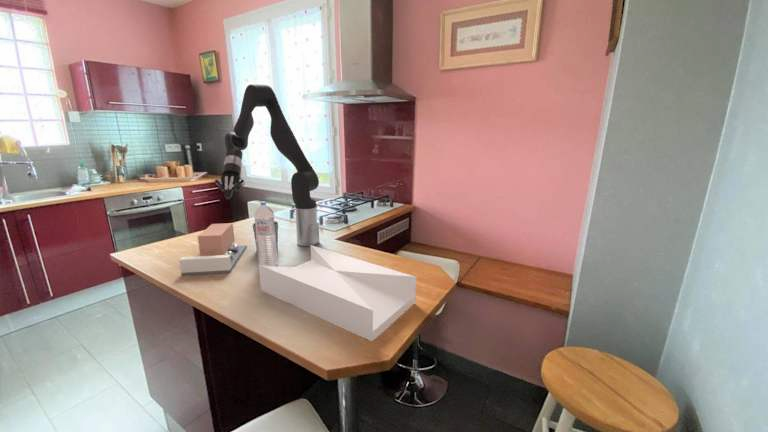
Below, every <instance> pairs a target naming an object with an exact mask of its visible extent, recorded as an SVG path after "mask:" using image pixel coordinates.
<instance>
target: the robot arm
mask: <svg viewBox="0 0 768 432" xmlns="http://www.w3.org/2000/svg"><path fill="white" fill-rule="evenodd" d="M258 107H259V108H260V107H261V108H262V107H265V108H266V109H267V112H268V114H269V117H270V127H269V128H270V129H269V130H270V132H269V133H270V137H271V139H272V141H273V143H274V145H275V147H276V149H277V150H278V151H279V153H280V154H282V155H283V156H284V157H285V158H286V159H287V160H288V161H289V162H290V163H291V164H292V165H293V166H294V167H295V169H296V172H294V173H293V175H292V177H291V180H290V186H291V194H292V201H293V203H294V208H295V209H294V211H295V226H296V227H295V229H296V243H297V245H298V246H300V247H311V246H310V245H312V246H316V245H317V244H318V242H319V243H320V223H319V222H318V221H317V219H318V218H317V216H318V215H317V201H316V200H315V199H313V198H312V197H311V191H315V190H316V189H317V188H318V187H319V184H320V183H319V182H320V181H319V176H318V175H317V172H316V171H315V170H314V168H313V166H312V165H311V163H310V162H309V160H308V159H307V157H306V155H305V154H304V152H303V149H302V148H301V146H300V145H299V143H298V140H297V138H296V135H295V134H294V133H293V131H292V129H291V127H290V125H289V123H288V120H287V118H286V117H285V115H284V113H283V111H282V108H281V105H280V104H279V101H278V98H277V95H276V93H275V91H274V89H273V88H272V86H270V85H269V84H268V83H267V84H266V83H251V84H248V85H247V86H246V88H245V89H244V94H243V98H242V103H241V108H240V112H239V116H238V118H237V121H236V123H235V125H234V127H233V132H232V131H228V132H227V133H226V134H225V136H224V146H225V148H226V149H225V150H226V154H225V159H224V162H223V168H222V174H221V176H220V178H219V179H214V182H215V184H216V185H217V187H219V189H220V191H221V192H224V194H223V196H224V198H225V199H226V200H231V199H232V196H233V193H234V192H237V191H239V190H240V189H241V188H242V187H243V186H244V185H245V184H246V183H245V180H244V179H242V178H241V173H242V172H241V171H242V168H243V166H242V162H243V151H245V150H246V149H247V148H248V145H249V135H250V134H251V131H253V130H252V129H253V127H254V124H255V121H254V117H253V111H254V110H255V109H256V108H258ZM223 184H224V185H223Z"/></svg>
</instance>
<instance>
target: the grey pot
mask: <svg viewBox="0 0 768 432" xmlns="http://www.w3.org/2000/svg"><path fill="white" fill-rule="evenodd" d="M274 226H275V235H276V249H277V251H278V249H279V248H278V243H279V242H278V241H279V237H278V236H279V223H278V221H275V220H274ZM252 229H253V235H254V236H253V237H254V240H255V246H256V250H257V241H256V226H255V222H254V223H253V224H252Z"/></svg>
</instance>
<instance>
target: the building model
mask: <svg viewBox="0 0 768 432" xmlns="http://www.w3.org/2000/svg"><path fill="white" fill-rule="evenodd" d="M309 247H310V260H308V261H305V262H302V263H301V264H298V265H296V266H293V267H292V266H291V267H289V266H278V265H276V266H267V265H259V264H258V274H259V283H260V291H262V292H263V293H265V294H268V295H271V296H272V297H275V298H277V299H279V300H280V301H283V302H285V303H287V304H289V305H291V306H294V307H296V308H298V309H300V310H303V311H305V312H306V313H309V314H310V315H313V316H316V317H318V318H320V319H322V320H324V321H326V322H328V323H331V325H334V326H336V327H339V328H341V329H343V330H346V331H348V332H349V331H350V332H349V333H351V332H352V334H354V333H355V334H354V335H356V334H357V335H356V336H358V335H359V336H358V337H360V336H361V337H360V338H362V337H363V338H362V339H364V338H366V339H365V340H367V339H368V340H367V341H369V340H370V341H369V342H371V341H373V340H374V339H375V338H377V337H378V336H379V335H380V334H381V333H382V332H383V331H384V330H385V329H386V328H387V327H389V326H390V325H391V324H392V323H393V322H394V321H395V320H396V319H397V318H398V317H399V316H400V315H401V314H402V313H404V312H405V311H406V310H407V309H408V308H409V307H410V306H411V305H412V304H413V303H414V302H415V303H416V296H417V292H416V291H417V279H418V278H417V276H414V275H412V274H408V273H404V272H402V271H398V270H395V269H393V268H388V267H385V266H381V265H378V264H376V263H375V264H374V263H372V262H368V261H365V260H363V259H362V260H361V259H358V258H355V257H351V256H349V255H346V254H341V253H338V252H335V251H332V250H328V249H326V248H325V249H324V248H322V247H318V246H316V245H314V246H312V245H310V246H309ZM392 325H393V324H392ZM392 325H391V326H392ZM391 326H390V327H391ZM390 327H389V328H390ZM382 334H383V333H382ZM382 334H381V335H382ZM381 335H380V336H381ZM380 336H379V337H380ZM379 337H378V338H379ZM378 338H377V339H378Z"/></svg>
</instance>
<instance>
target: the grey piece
mask: <svg viewBox="0 0 768 432" xmlns="http://www.w3.org/2000/svg"><path fill="white" fill-rule="evenodd" d="M238 246H239V249H238V250H237V251H232V252H233V253H234V256H233V257H232V258H231V257H230V255H214V256H198V255H197V256H196V255H195V256H182V257H180V259H179V260H178V261H179V267H180V272H181V276H194V275H210V274H212V275H213V274H229V273H231V272H232V270H233V269H234V268H235V266H236V264H237V263H238V262H239V260H240V258H241V257H242V255H243V254H244V253H245V251H246V250H247V248H248V247H247V246H248V245H247V244H244V245H243V244H242V245H240V244H238Z"/></svg>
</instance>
